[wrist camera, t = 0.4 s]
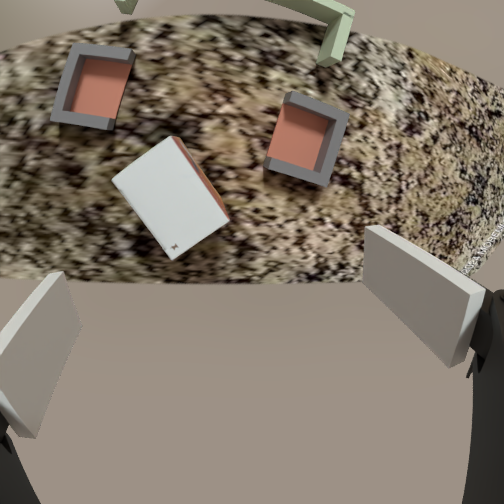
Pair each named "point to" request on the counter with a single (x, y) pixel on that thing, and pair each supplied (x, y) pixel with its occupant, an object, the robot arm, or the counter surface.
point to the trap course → (290, 117)
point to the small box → (172, 196)
